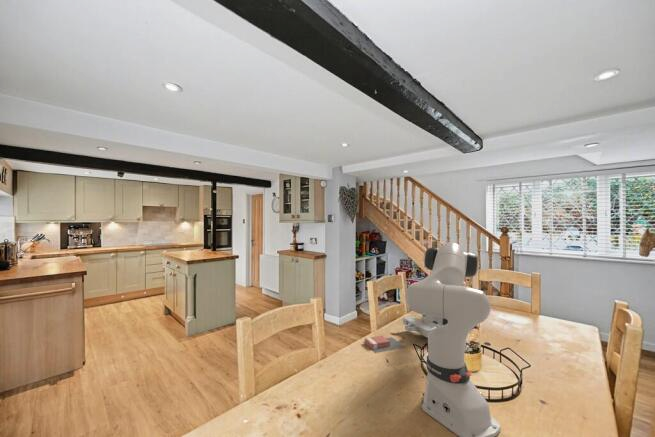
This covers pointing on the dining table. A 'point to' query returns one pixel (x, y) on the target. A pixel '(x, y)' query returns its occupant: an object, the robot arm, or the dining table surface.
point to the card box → (377, 342)
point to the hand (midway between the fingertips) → (406, 328)
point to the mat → (393, 345)
